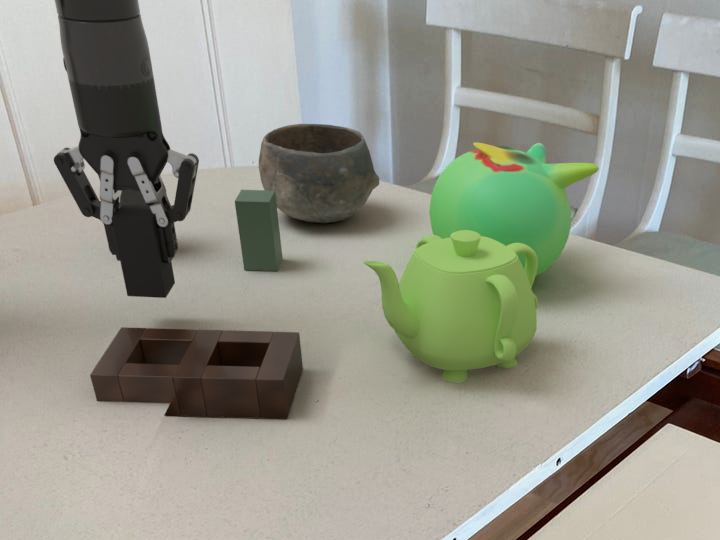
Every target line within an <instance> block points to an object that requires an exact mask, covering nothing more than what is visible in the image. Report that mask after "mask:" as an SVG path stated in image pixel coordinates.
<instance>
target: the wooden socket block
mask: <svg viewBox="0 0 720 540" xmlns="http://www.w3.org/2000/svg"><path fill="white" fill-rule="evenodd" d="M303 365H304V364H303V355H302V345H301V336H300V332H299V331H295V332H294V331H272V330H271V331H267V330H266V331H265V330H264V331H263V330H236V329H235V330H234V329H233V330H232V329H231V330H230V329H225V330H224V329H196V328H195V329H194V328H192V329H191V328H158V327H154V328H153V327H123V326H122V327H120V328H119V330H118V332H117V333H116V334H115V336H114V337H113V338H112V341H111V342H110V344H108V346H107V348H106V350H105V351H104V353H103V354H102V356H101V357H100V359H99V360H98V362H97V363H96V365H95V366H94V368H93V369H92V371H91V373H90V374H89V377H90V380H91V384H92V388H93V391H94V395H95V398H96V402H104V403H105V402H110V403H141V404H142V403H144V404H145V403H147V404H148V403H149V404H169V405H168V407H167V409H166V411H165V413H164V414H163V416H165V417H191V418H192V417H197V418H233V419H266V420H267V419H268V420H269V419H270V420H271V419H272V420H274V419H275V420H287V419H289V417H290V413H291V410H292V406H293V403H294V400H295V396H296V394H297V391H298V387H299V384H300V381H301V377H302V374H303V371H304V366H303Z"/></svg>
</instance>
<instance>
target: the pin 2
mask: <svg viewBox="0 0 720 540" xmlns="http://www.w3.org/2000/svg"><path fill="white" fill-rule="evenodd" d="M234 207H235V215H236V220H237V221H236V222H237V228H238V229H237V230H238V236H239V243H240V250H241V257H242V262H243V270H244V271H257V272H259V271H261V272H278V271H279V268H280V265H281V263H282V261H283V250H282V242H281V233H280V232H281V231H280V223H279V214H278V208H277V204H276V195H275V191H269V190H264V189H263V190H262V189H241V190H240V191H239V193H238V195H237V196H236V198H235V200H234Z"/></svg>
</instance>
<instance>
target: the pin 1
mask: <svg viewBox="0 0 720 540" xmlns="http://www.w3.org/2000/svg"><path fill="white" fill-rule="evenodd" d="M111 218H112V223H113V228H114V233H115V238H116V243H117V247H118V252H119V257H120V261H119V262H120V267H121V272H122V276H123V282H124V286H125V291H126V296H127V297H134V298H135V297H138V298H156V299H157V298H160V299H167V296H168V295H169V293H170V292H171V290H172V288H173V287H174V285H175V283H176V281H175V275H174V269H173V263H172V261H171V262H170V263H163V262H162V258H161V252H160V247H159V241H158V235H157V230H156V227H157V226H158V224H157V223H156V220H155V218H154V216H153V213H152V211H151V209H150V207H149V205H134V204H122V206H121V207H120V208H119V209H118V210H117V211H116V213H115V214H114V215H113V216H112V217H111Z"/></svg>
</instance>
